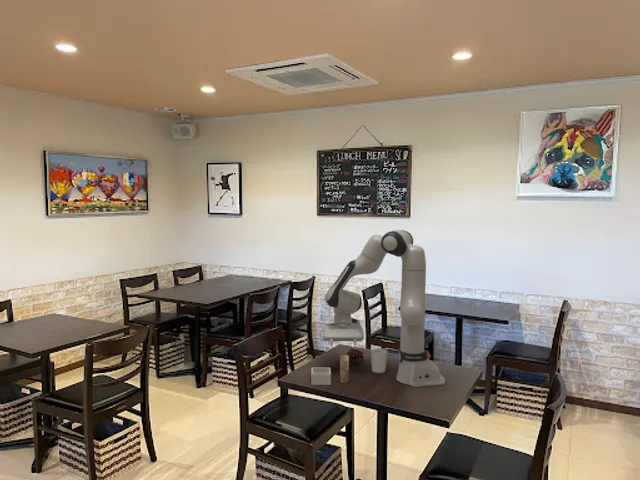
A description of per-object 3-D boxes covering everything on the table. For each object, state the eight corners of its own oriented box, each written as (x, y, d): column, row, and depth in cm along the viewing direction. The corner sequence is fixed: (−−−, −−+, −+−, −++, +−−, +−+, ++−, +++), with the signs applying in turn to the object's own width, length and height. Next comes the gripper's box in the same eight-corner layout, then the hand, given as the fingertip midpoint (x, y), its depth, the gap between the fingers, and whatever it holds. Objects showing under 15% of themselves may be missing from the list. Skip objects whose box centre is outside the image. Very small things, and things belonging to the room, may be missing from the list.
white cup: (386, 374, 233) (386, 354, 232) (370, 372, 234) (370, 353, 233) (387, 368, 240) (387, 349, 239) (371, 367, 242) (371, 348, 241)
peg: (348, 379, 225) (348, 354, 224) (348, 382, 221) (349, 357, 220) (339, 379, 225) (340, 354, 224) (340, 382, 221) (340, 357, 220)
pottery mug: (340, 361, 252) (346, 346, 255) (356, 368, 254) (361, 353, 257) (349, 362, 241) (354, 347, 243) (365, 369, 243) (370, 354, 245)
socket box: (330, 377, 227) (330, 367, 227) (330, 384, 219) (330, 374, 218) (311, 377, 227) (311, 367, 227) (311, 384, 218) (311, 374, 218)
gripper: (322, 320, 237) (322, 345, 228) (363, 320, 237) (364, 345, 228) (321, 326, 241) (322, 351, 232) (362, 326, 242) (363, 351, 233)
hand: (343, 348), depth 230 cm, fingers open, 8 cm apart
